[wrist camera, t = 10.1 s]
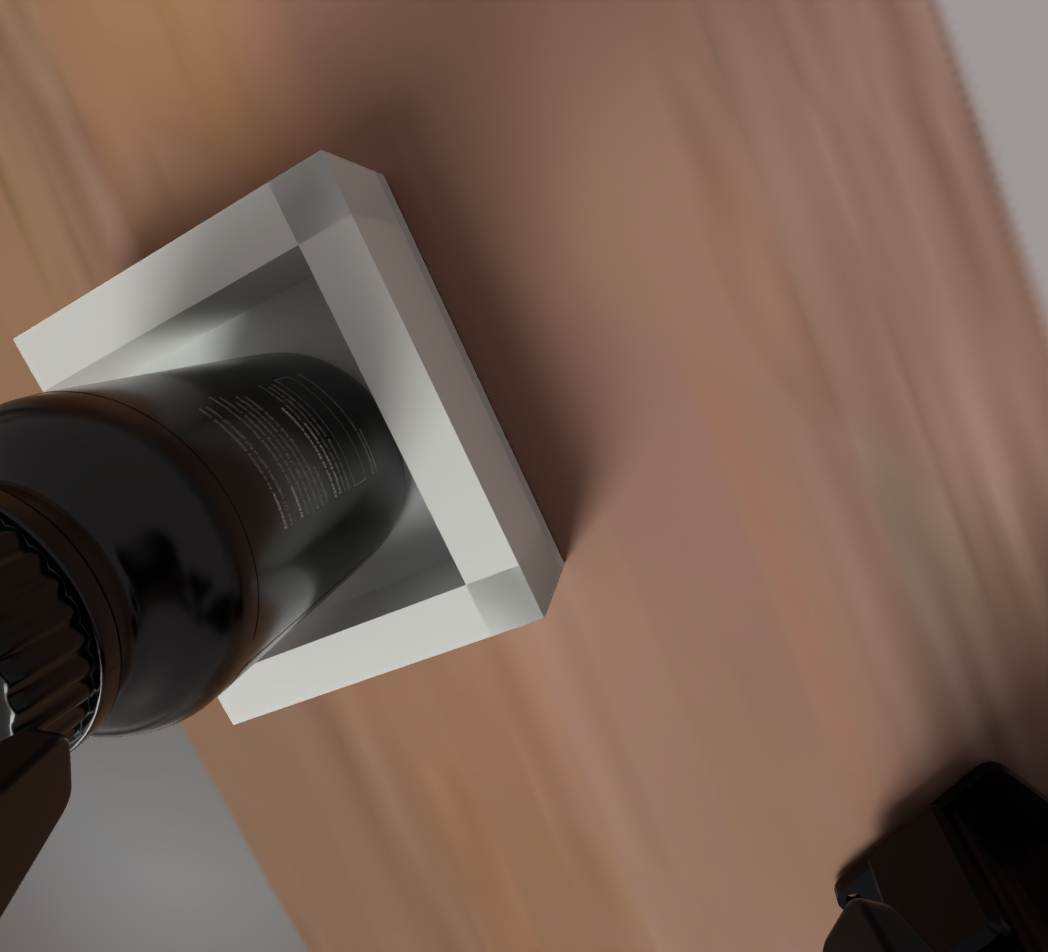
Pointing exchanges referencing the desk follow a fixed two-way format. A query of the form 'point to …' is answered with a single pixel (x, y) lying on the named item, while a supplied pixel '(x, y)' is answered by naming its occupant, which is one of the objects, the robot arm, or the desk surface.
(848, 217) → the desk surface
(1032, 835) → the robot arm
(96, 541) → the supplement bottle
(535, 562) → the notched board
